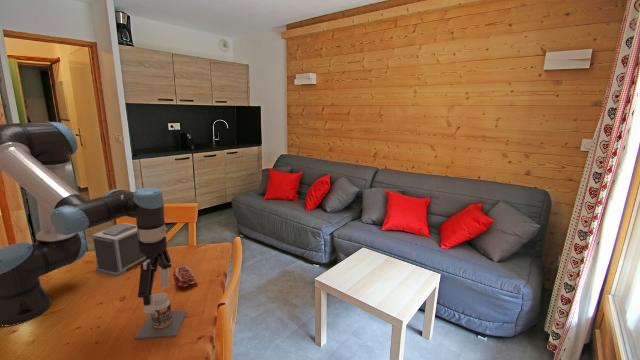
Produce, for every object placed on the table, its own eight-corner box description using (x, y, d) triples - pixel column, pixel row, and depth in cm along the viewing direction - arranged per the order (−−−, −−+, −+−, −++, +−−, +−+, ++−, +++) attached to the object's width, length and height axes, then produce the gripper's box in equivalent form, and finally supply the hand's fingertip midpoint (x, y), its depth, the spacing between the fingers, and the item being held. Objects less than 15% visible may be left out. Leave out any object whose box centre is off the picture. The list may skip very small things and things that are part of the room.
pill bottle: (164, 330, 97) (160, 303, 95) (148, 327, 98) (145, 300, 96) (175, 318, 103) (173, 292, 100) (160, 316, 104) (157, 290, 101)
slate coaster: (135, 339, 94) (134, 338, 94) (150, 314, 106) (150, 312, 105) (175, 336, 96) (175, 334, 95) (186, 311, 107) (186, 310, 107)
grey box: (131, 253, 148) (126, 217, 144) (153, 257, 144) (148, 221, 140) (94, 271, 131) (87, 232, 127) (117, 277, 127) (110, 237, 123)
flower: (164, 289, 117) (175, 274, 115) (168, 273, 125) (179, 259, 123) (188, 297, 121) (199, 283, 120) (191, 280, 129) (201, 267, 128)
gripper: (148, 257, 82) (155, 324, 87) (178, 222, 106) (181, 276, 111) (118, 258, 81) (127, 326, 86) (155, 222, 105) (160, 277, 110)
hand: (158, 298), depth 98 cm, fingers open, 13 cm apart
